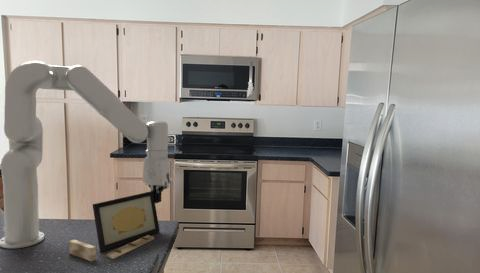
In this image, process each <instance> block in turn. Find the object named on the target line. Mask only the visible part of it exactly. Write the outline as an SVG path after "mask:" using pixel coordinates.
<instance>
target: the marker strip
mask: <svg viewBox="0 0 480 273" xmlns="http://www.w3.org/2000/svg"><path fill="white" fill-rule="evenodd" d="M153 240H155V236H153V235H147V236H145V237H141V238H139V239H136V240H133V241H131V242H127V243H126V244H124V246H121V247H119V248H117V249H116V248H114V249H113V250H112V251H109V252H108V253H106V254H105V255H106V256H105V257H106V258H109V259H113V260H114V259H116V258H118V257H120V256H122V255H124V254H126V253H128V252H131V251H133V250H134V249H137V248H138V247H141V246H143V245H145V244H147V243H149V242H151V241H153Z"/></svg>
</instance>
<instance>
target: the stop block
mask: <svg viewBox="0 0 480 273" xmlns="http://www.w3.org/2000/svg"><path fill="white" fill-rule="evenodd" d="M69 254H70V255H72V256H76V257H77V258H80V259H83V260H87V261H89V262H93V261H96V260H97V247H96V246H95V245H91V244H89V243H86V242H83V241H80V240H77V239H71V240H69Z"/></svg>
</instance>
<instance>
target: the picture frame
mask: <svg viewBox="0 0 480 273" xmlns="http://www.w3.org/2000/svg"><path fill="white" fill-rule="evenodd" d="M92 210H93V216H94V223H95V230H96V236H97V242H98V250H99V252H103V251H106V250H109V249H113V248H116V247H119V246H122V245H125V244H128V243H131V242H134V241H136V240H138V239H140V238H141V237H145V236H147V235H149V236H151V235H153V234H156V233H159V232H161V231H160V225H159V219H158V215H157V213H158V212H157V208H156V203H155V201H154V195H153V191H151V190H150V191H147V192H142V193H137V194H134V195H133V194H132V195H127V196H125V197H120V198H115V199H111V200H106V201H101V202H98V203H97V202H96V203H93V204H92Z"/></svg>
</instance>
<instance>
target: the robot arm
mask: <svg viewBox="0 0 480 273" xmlns="http://www.w3.org/2000/svg"><path fill="white" fill-rule="evenodd" d="M4 89H5V90H4V123H3V124H4V125H3V130H4V135H5V136H6V138H7V139H8V140H10V143H11V144H10V145H11V146H10V148H11V149H9V150H8V151H6V153H5V154H4V155H3V157H2V159H1V162H0V172H1V177H2V178H1V179H2V188H3V189H2V190H3V209H4V212H3V215H4V227H3V228H2V231H3V232H4V236H3V237H1V238H0V248H4V249H21V248H27V247H31V246H35V245H36V244H39V243H41V242H42V241H44V239H45V233H44V232H42V231H40V229H39V228H40V223H39V222H40V221H39V220H40V218H39V217H40V216H39V184H38V172H37V171H38V170H37V169H38V167H39V166H40V165H41V163H42V160H43V140H44V138H43V134H44V132H43V131H44V130H43V129H44V128H43V123H42V122H41V119H40V118H39V117H38V116H37V109H36V108H37V91H38V90H39V89H40V90H41V89H42V90H55V91H56V90H57V91H71V92H75V94H77V95H78V96H79V97H81V99H83V100H84V101H85V102H86V103H87V104H88V105H89V106H90V107H91V108H93V110H94V111H96V112H97V113H98V114H99V115H100V116H101V117H103V118H104V119H105V120H106V121H108V122H109V123H110V124H111V125H112V126H113V127H114V128H115V129H116V130H118V131H119V132H120V133H121V134H122V135H124V137H125V138H127V139H128V141H130V142H132V143H136V144H140V143H143V142H144V141H145V140H146V150H145V154H146V157H144V161H143V162H144V163H143V170H142V182H143V183H144V184H145V186H147V187H149V189H150V191H153V195H154V201H155V204H158V203H161V202H162V192H163V191H164V190H167V189H170V185H169V184H170V183H171V165H170V159H169V158H168V154H169V152H168V149H169V148H168V147H169V145H168V144H169V143H168V141H169V140H168V139H169V132H168V131H169V125H168V123H167V122H166V121H161V120H152V121H151V120H150V121H145V120H144V121H143V120H141V119H140V118H139V117H138V116H137V115H136V114H134V113H133V112H132V111H131V109H129V108H128V107H127V106H126V105H125V104H124V103H123V101H121V99H120V98H119V97H118V96H117V94H115V93H114V92H113V91H112V90H111V89H110V88H109V87H108V86H107V85H105V83H103V81H101V80H100V79H99V78H98V76H96V75H95V74H94V73H93V72H92V71H91V70H90V69H88V68H87V67H86V66H83V65H80V64H76V65H72V66H64V65H63V66H62V65H52V64H47V63H45V62H43V61H41V60H31V61H27V62H24V63H22V64H20V65H18V66H16V67H15V68H13V70H12V71H11V72H10V73H9V74H8V76H7V79H6V82H5V88H4Z"/></svg>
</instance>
